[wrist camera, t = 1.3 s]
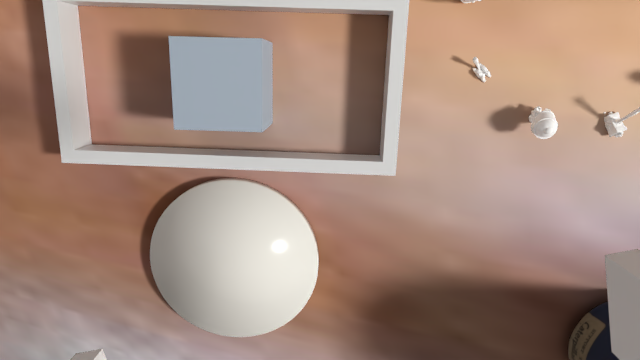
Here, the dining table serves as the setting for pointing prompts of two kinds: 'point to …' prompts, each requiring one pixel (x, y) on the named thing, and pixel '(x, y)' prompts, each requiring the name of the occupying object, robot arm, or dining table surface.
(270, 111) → the blue-grey block
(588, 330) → the candle
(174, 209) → the cream round flat disc
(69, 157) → the grey tray
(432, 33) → the dining table surface
